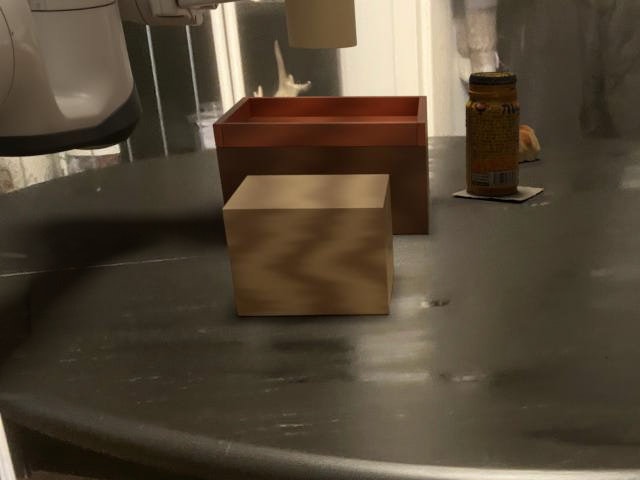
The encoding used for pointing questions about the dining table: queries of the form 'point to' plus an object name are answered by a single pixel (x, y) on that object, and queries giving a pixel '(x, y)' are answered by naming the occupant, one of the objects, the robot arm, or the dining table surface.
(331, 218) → the birch block
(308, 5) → the sauce bottle
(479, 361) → the dining table surface
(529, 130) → the pastry
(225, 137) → the tray stand
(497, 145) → the condiment
